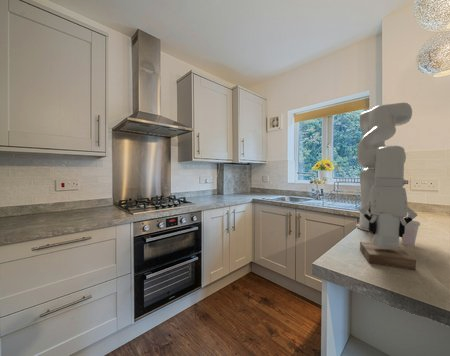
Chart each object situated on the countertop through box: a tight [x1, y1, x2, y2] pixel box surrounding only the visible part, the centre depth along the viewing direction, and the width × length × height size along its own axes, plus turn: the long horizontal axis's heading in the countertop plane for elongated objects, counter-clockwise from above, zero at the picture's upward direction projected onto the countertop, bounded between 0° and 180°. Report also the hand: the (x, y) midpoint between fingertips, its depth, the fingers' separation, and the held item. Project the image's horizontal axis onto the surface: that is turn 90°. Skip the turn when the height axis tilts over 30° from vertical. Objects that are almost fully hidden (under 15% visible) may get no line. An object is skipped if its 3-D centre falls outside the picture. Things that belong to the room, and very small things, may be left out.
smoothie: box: [401, 212, 421, 247], centre depth 83 cm, size 6×6×14 cm
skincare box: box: [372, 213, 400, 248], centre depth 70 cm, size 6×4×12 cm
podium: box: [359, 241, 417, 271], centre depth 70 cm, size 12×12×3 cm
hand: (385, 234), depth 70 cm, fingers closed on skincare box, 6 cm apart
